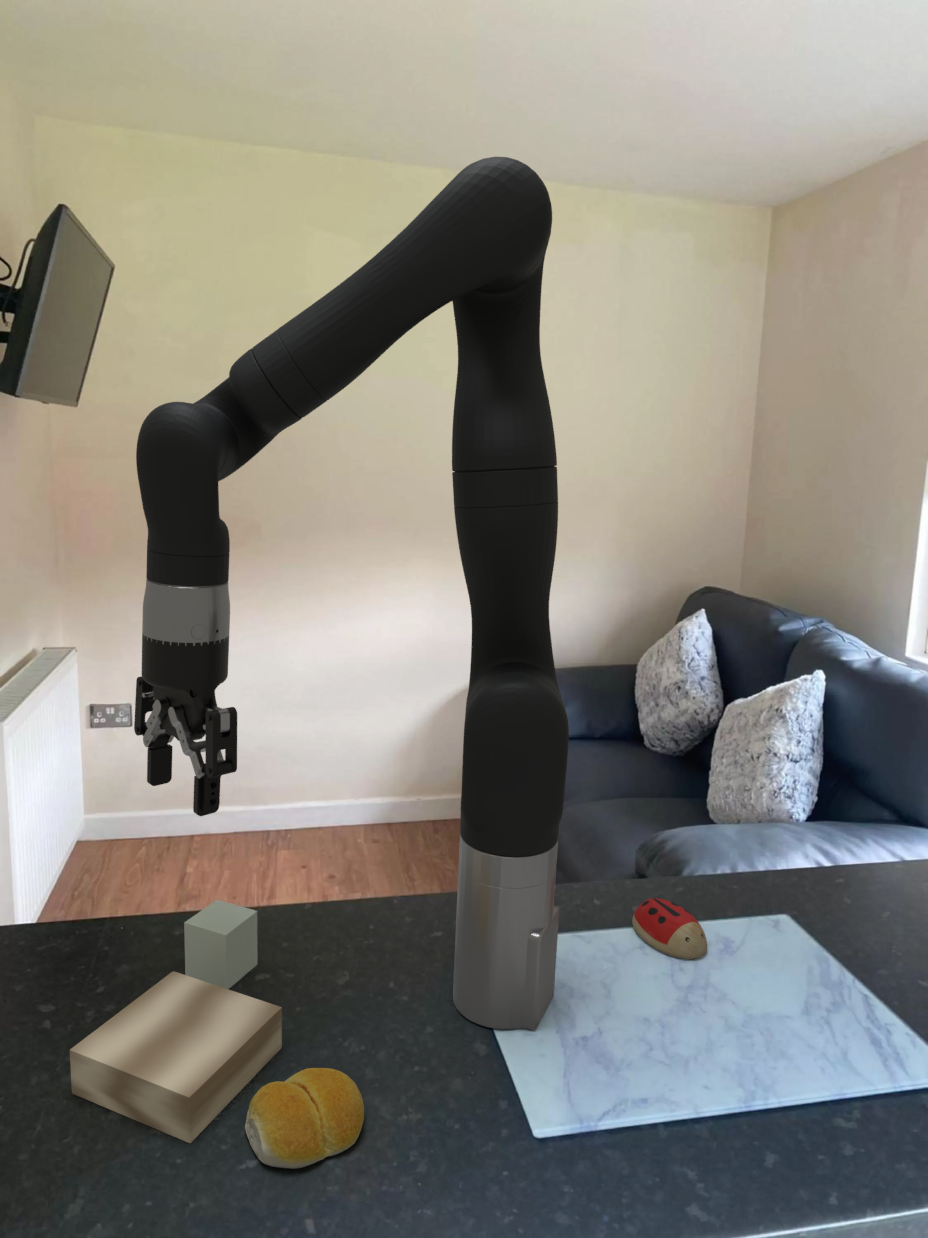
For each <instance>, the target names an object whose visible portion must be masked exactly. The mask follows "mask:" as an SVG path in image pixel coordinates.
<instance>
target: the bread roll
mask: <svg viewBox="0 0 928 1238" xmlns="http://www.w3.org/2000/svg"><path fill="white" fill-rule="evenodd" d="M249 1101H250V1102H249V1105H248V1110H247V1113H246V1118H245V1119H246V1120H245V1124H244V1130H245V1133H246V1136H247V1139H248V1142H249V1146H250V1147H251V1150H253V1152H254V1154H255V1155H256V1157H257V1158H258V1160H260V1163H261V1162H262V1164H264V1165H266V1166H270V1167H272V1168H273V1167H275V1168H281V1169H292V1170H293V1169H301V1168H305V1167H308V1166H311V1165H313V1164H315V1163H317V1162H320V1161H322V1160H324V1159H325V1158H327V1157H332V1156H336V1155H338V1154H340V1153H343V1152H344V1151H346V1150H348V1149H349V1148H351V1147H352V1146H353V1145H354V1144H355V1143H356V1141H357V1140H358V1139H359V1136H360V1133H361V1131H362V1128H363V1125H364V1124H363V1123H364V1120H365V1104H364V1099H363V1096H362V1094H361V1091H360V1089H359V1088H358V1085H357V1084H356V1082H355V1081H354V1080H353V1079H351V1077H350V1076H349V1075H347V1074H346V1073H344V1072H342V1071H340V1070H337V1069H334V1068H330V1067H329V1068H328V1067H326V1068H325V1067H311V1068H310V1067H308V1068H305V1069H302V1070H299V1071H298V1072H296V1073H294V1074H292V1075H291V1076H290V1077H288V1078H287V1079H286V1080H284V1081H273V1082H269V1083H266V1084H264V1085H262V1086H261V1087H260V1088H259V1089H258V1090H257V1092H256V1093H255V1094H254V1096H253V1097H252V1098H251V1100H249Z"/></svg>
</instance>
